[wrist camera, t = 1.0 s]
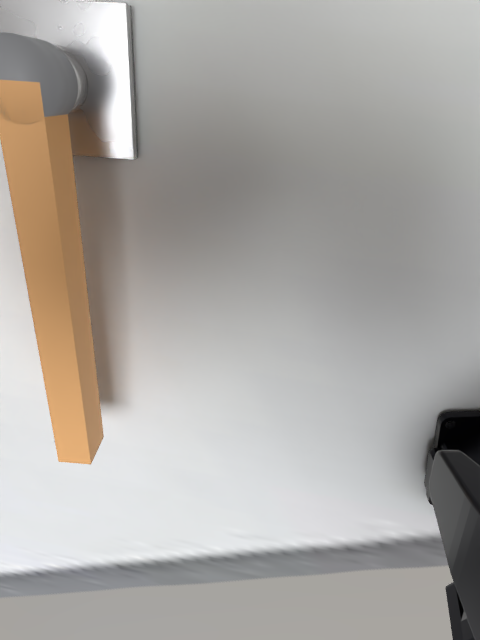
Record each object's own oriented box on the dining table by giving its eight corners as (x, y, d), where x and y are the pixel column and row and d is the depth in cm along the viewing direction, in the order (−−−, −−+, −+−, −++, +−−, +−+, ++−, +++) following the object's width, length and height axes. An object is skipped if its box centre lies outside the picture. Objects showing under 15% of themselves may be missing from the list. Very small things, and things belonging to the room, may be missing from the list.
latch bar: (73, 41, 14) (49, 35, 12) (112, 437, 22) (100, 465, 20) (-1, 36, 14) (-35, 29, 12) (64, 433, 22) (48, 460, 20)
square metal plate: (130, 6, 15) (112, -5, 14) (137, 157, 18) (123, 164, 16) (-11, -4, 15) (-47, -15, 14) (14, 148, 18) (-14, 155, 16)
